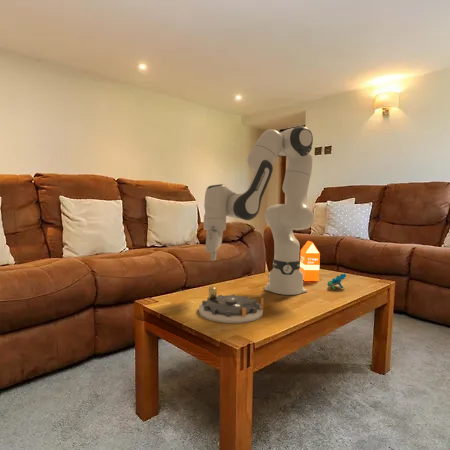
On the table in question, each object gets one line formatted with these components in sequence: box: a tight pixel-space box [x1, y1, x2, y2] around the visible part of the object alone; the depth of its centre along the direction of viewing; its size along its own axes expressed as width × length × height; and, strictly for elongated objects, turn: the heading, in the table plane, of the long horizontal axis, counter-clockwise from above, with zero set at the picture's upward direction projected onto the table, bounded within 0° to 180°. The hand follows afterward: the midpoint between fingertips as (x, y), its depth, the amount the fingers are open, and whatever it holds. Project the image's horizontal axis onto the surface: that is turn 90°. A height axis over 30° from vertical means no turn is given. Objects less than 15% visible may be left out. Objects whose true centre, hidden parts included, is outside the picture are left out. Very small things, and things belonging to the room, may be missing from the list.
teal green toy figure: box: [327, 273, 347, 290], centre depth 155 cm, size 11×6×10 cm
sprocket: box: [201, 286, 261, 317], centre depth 119 cm, size 21×21×6 cm
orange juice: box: [299, 240, 321, 282], centre depth 172 cm, size 8×9×20 cm
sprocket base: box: [198, 297, 265, 324], centre depth 119 cm, size 23×23×6 cm
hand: (213, 260), depth 131 cm, fingers closed
